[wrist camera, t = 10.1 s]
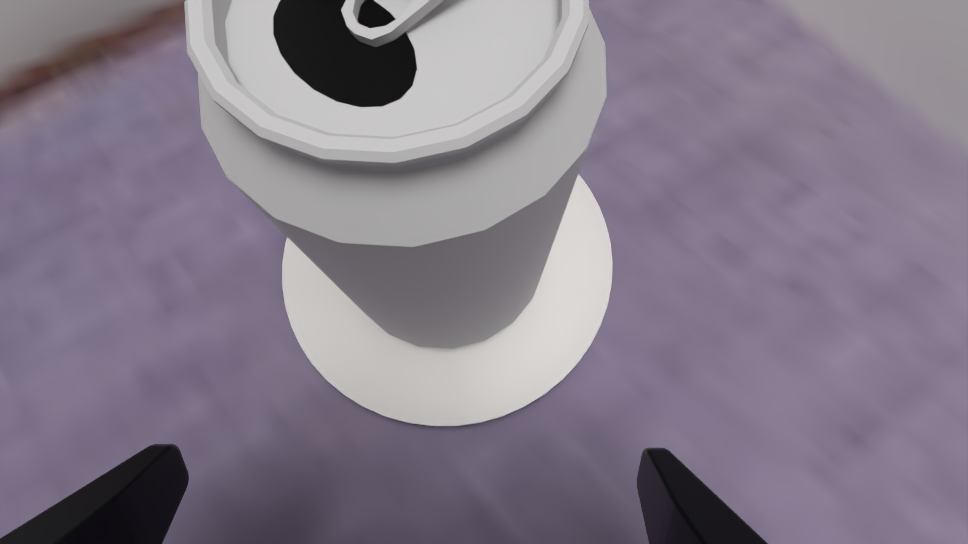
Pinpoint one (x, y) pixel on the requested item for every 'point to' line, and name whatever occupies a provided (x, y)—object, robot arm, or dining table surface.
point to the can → (406, 143)
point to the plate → (467, 369)
